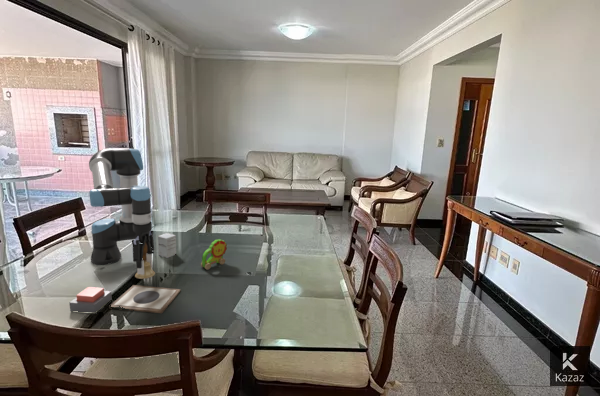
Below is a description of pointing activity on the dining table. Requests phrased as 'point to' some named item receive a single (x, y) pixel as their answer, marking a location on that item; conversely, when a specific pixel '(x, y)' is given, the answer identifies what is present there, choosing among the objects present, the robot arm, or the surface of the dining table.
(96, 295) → the button
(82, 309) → the button housing
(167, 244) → the supplement box
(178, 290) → the drawing board
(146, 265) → the hand bell
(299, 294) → the dining table surface
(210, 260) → the toy lion
